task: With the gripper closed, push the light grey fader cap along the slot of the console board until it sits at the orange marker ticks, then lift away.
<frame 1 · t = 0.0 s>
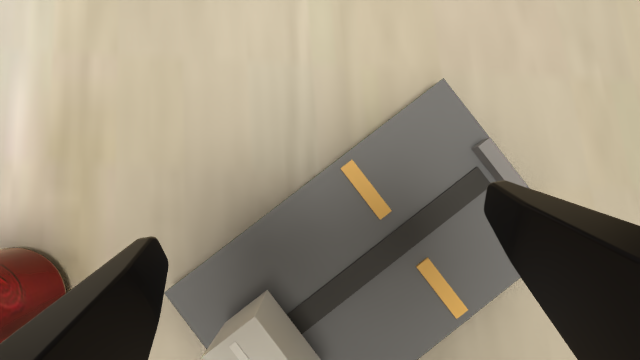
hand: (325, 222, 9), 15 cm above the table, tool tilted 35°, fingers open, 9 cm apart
soda can: (23, 296, 23), on the table
console: (365, 260, 24), on the table
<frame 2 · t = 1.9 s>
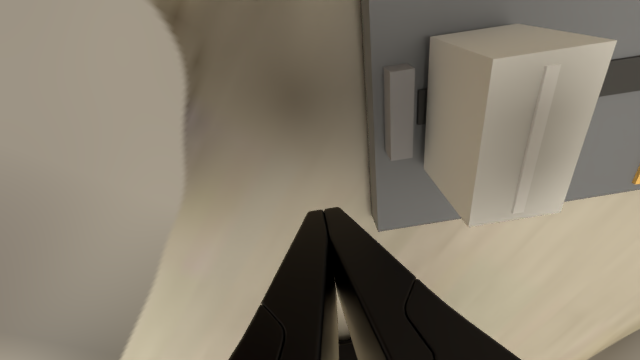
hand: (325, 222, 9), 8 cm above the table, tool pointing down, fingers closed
fader cap: (494, 122, 12), point 4 cm above the table, slide at 0.0 cm
console: (603, 66, 16), on the table
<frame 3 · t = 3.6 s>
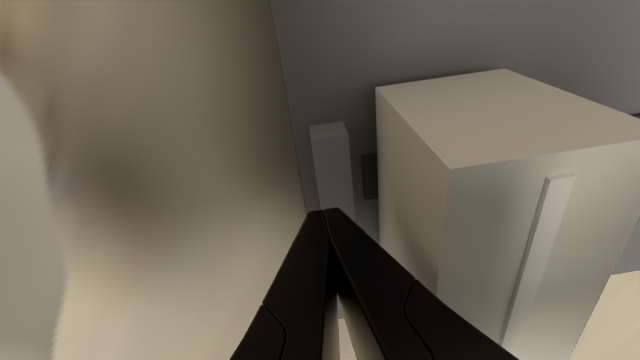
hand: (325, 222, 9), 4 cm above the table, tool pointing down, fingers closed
fader cap: (468, 219, 8), point 4 cm above the table, slide at 0.1 cm, touching gripper
console: (620, 116, 12), on the table
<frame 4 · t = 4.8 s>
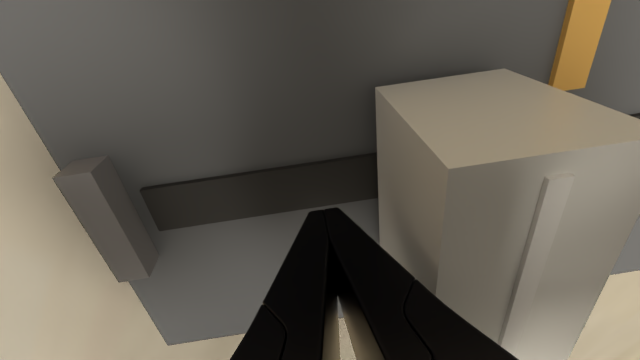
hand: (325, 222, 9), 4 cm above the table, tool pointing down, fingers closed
fader cap: (468, 219, 8), point 4 cm above the table, slide at 7.0 cm, touching gripper
console: (438, 143, 12), on the table
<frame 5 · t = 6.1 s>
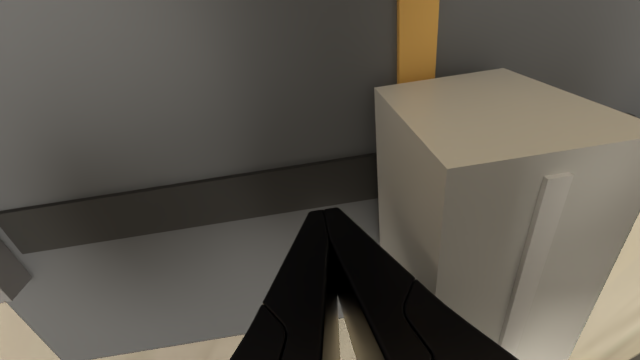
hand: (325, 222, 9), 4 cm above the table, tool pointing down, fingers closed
fader cap: (468, 219, 8), point 4 cm above the table, slide at 11.5 cm, touching gripper
console: (317, 161, 12), on the table
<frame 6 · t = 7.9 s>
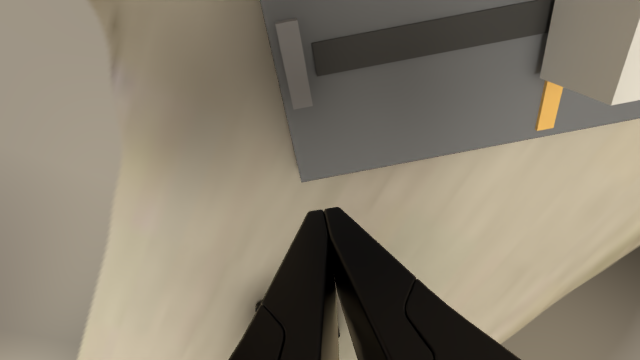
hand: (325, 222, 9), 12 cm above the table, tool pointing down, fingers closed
fader cap: (629, 14, 14), point 4 cm above the table, slide at 11.5 cm
console: (493, 19, 18), on the table
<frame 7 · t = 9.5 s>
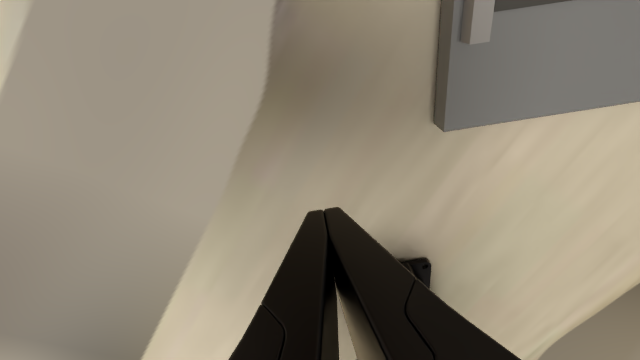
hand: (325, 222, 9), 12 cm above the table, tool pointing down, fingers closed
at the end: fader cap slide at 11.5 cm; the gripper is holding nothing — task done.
